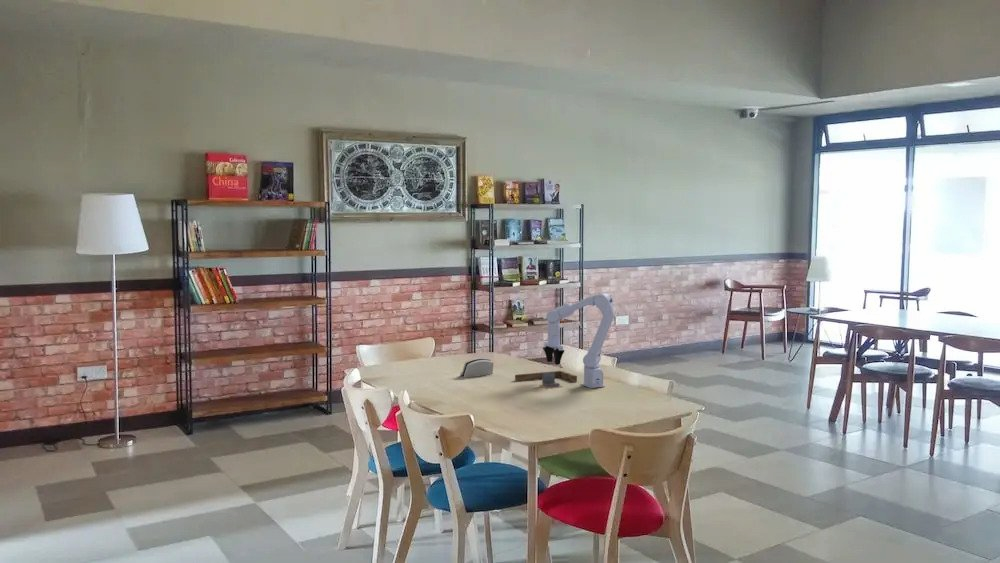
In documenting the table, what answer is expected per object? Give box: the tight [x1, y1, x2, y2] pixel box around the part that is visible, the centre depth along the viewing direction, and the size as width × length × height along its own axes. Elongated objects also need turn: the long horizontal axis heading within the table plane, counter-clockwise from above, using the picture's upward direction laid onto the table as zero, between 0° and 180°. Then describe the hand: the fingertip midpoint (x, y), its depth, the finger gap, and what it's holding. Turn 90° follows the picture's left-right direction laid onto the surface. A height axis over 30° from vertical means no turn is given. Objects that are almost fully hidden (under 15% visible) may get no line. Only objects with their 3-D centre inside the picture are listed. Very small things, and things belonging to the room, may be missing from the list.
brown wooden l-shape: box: [514, 370, 578, 383], centre depth 396 cm, size 15×26×3 cm, turn 115°
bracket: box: [541, 370, 561, 388], centre depth 385 cm, size 6×6×6 cm
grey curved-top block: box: [459, 357, 494, 378], centre depth 411 cm, size 17×5×10 cm, turn 123°
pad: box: [539, 383, 563, 389], centre depth 386 cm, size 8×8×1 cm
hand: (553, 363), depth 393 cm, fingers open, 7 cm apart
